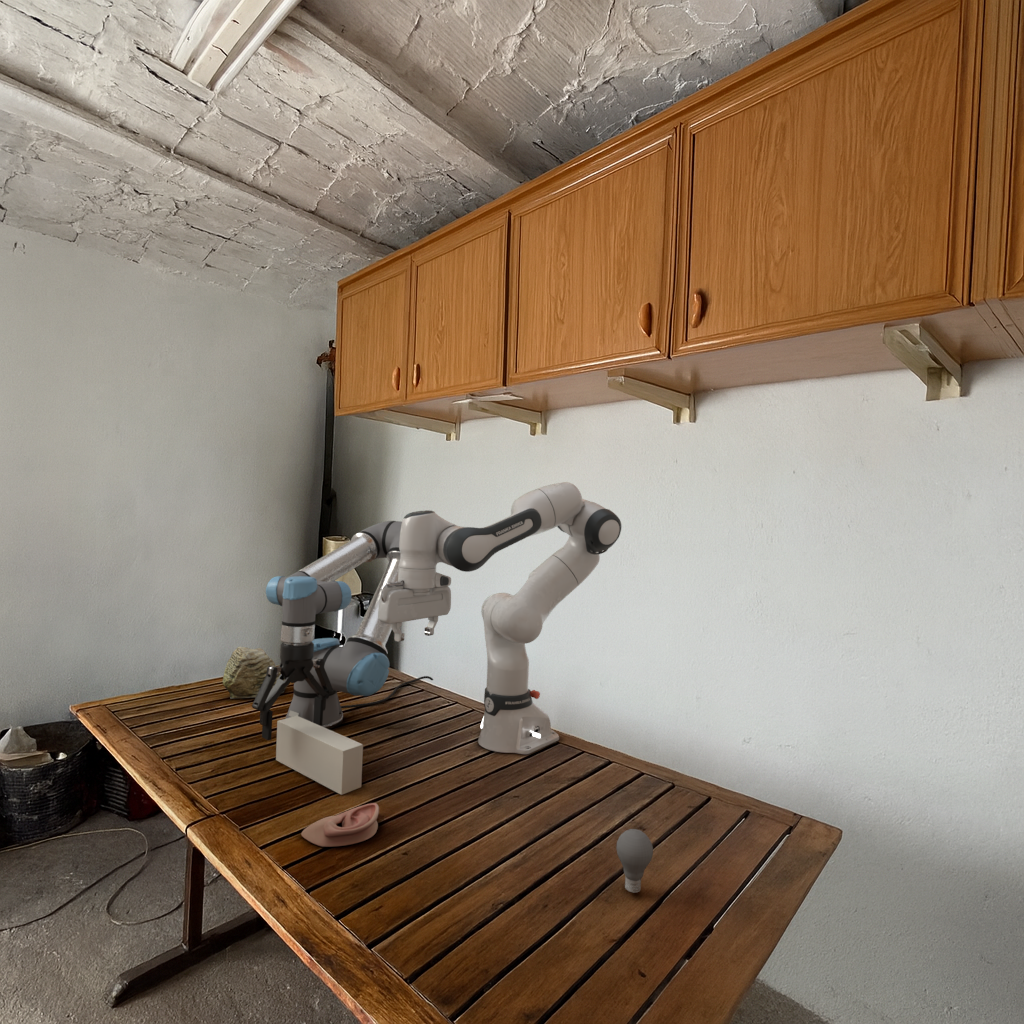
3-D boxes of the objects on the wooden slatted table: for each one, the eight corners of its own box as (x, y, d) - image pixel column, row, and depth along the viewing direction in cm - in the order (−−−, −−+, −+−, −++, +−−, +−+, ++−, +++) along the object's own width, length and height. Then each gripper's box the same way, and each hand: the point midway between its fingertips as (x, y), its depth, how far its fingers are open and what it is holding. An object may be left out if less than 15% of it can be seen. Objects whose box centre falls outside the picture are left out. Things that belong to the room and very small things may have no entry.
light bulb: (610, 879, 108) (613, 822, 108) (644, 879, 109) (647, 822, 109) (619, 902, 102) (622, 840, 102) (655, 901, 103) (658, 840, 103)
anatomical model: (293, 820, 116) (324, 792, 127) (292, 842, 116) (323, 812, 127) (360, 831, 113) (386, 801, 124) (359, 853, 113) (385, 821, 124)
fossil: (218, 695, 195) (220, 647, 195) (278, 685, 208) (279, 640, 207) (228, 703, 189) (230, 653, 188) (289, 692, 201) (290, 645, 201)
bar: (275, 760, 151) (277, 720, 151) (295, 753, 155) (296, 715, 155) (341, 795, 135) (343, 751, 135) (361, 786, 139) (363, 744, 139)
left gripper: (256, 652, 138) (251, 749, 138) (350, 638, 158) (346, 723, 158) (239, 646, 143) (234, 740, 143) (332, 633, 163) (328, 715, 163)
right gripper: (391, 584, 139) (389, 647, 139) (456, 577, 155) (453, 634, 155) (373, 581, 143) (370, 642, 143) (437, 575, 159) (435, 630, 159)
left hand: (293, 731), depth 150 cm, fingers open, 13 cm apart
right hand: (414, 638), depth 149 cm, fingers open, 8 cm apart
